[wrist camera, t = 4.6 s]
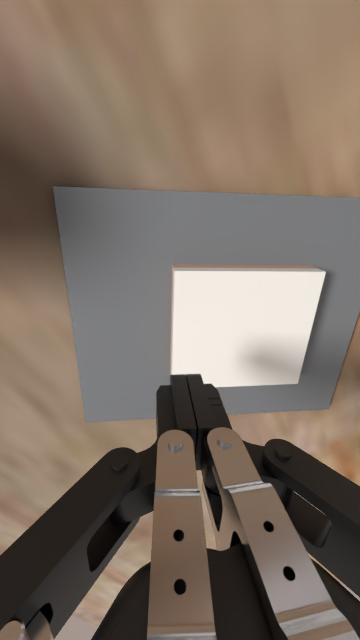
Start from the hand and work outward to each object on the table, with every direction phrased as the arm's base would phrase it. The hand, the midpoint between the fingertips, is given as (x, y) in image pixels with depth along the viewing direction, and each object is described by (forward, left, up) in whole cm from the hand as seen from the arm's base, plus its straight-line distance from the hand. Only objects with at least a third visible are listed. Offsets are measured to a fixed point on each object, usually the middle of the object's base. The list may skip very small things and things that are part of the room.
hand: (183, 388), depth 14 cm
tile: (0, 0, -6) cm, 7 cm away
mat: (0, +4, -8) cm, 9 cm away
